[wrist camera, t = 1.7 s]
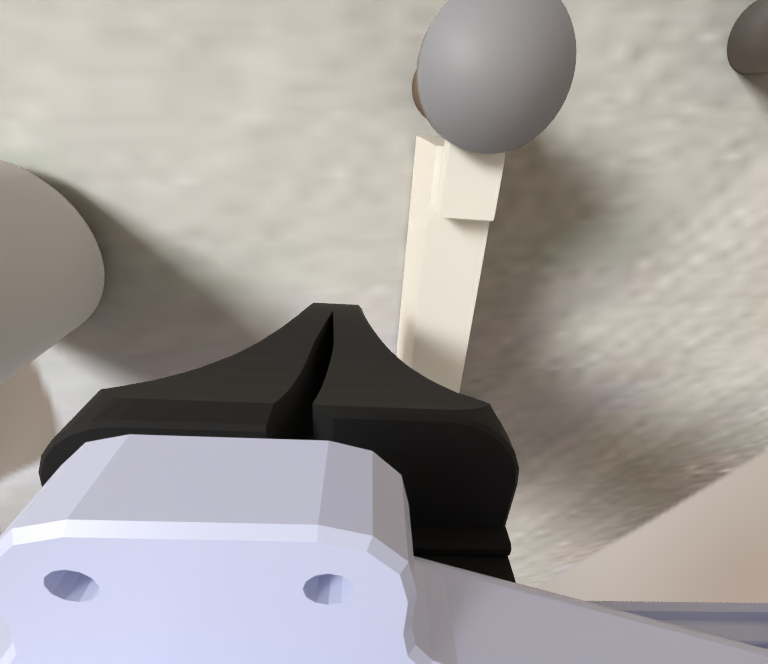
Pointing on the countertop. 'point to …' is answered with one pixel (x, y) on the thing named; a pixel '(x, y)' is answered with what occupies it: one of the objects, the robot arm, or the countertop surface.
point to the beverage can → (42, 268)
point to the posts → (745, 46)
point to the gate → (471, 158)
